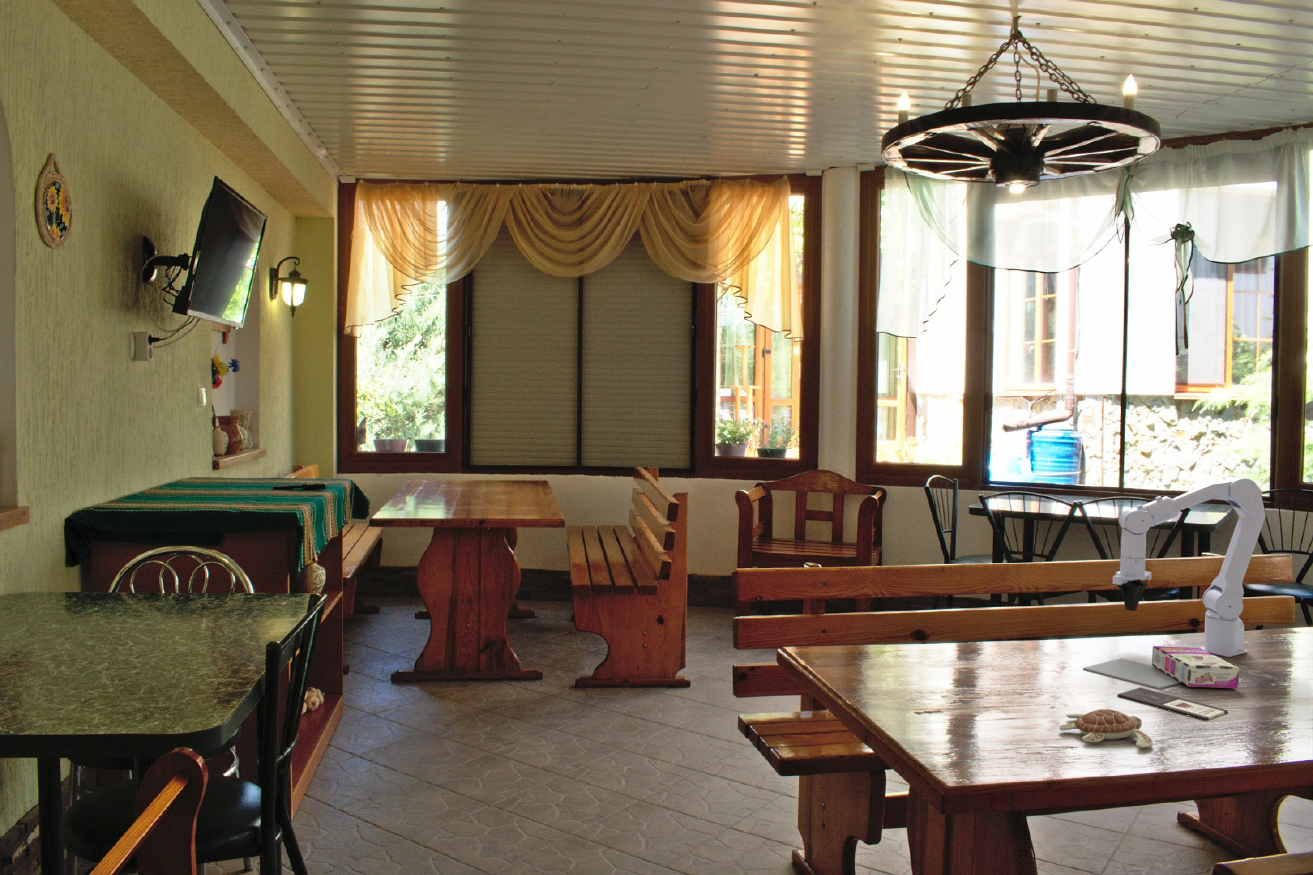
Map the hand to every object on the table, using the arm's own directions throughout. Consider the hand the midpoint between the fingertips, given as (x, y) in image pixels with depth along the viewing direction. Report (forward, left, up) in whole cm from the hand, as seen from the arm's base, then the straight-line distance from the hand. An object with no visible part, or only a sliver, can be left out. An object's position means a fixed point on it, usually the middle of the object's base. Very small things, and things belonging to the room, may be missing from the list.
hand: (1130, 609), depth 248 cm
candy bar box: (+11, +17, -7) cm, 21 cm away
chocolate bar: (+38, +31, -10) cm, 50 cm away
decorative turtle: (+67, +34, -10) cm, 76 cm away
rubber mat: (+22, +15, -9) cm, 28 cm away
